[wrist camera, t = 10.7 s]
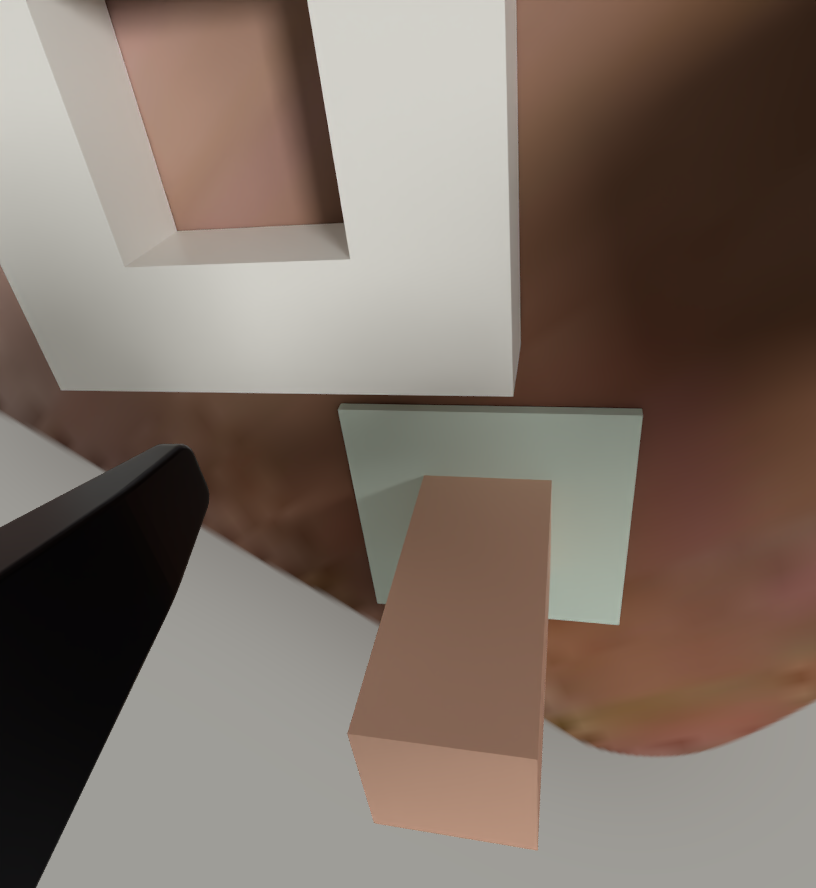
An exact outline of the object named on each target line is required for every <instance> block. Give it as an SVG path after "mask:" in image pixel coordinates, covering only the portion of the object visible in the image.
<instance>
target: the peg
mask: <svg viewBox="0 0 816 888" xmlns="http://www.w3.org/2000/svg"><path fill="white" fill-rule="evenodd" d="M551 493H552V480H531V479H506V478H480V477H455V476H429V475H424V477H423V480H422V483H421V487H420V490H419V493H418V497H417V500H416V504H415V507H414V510H413V514H412V517H411V520H410V524H409V527H408V531H407V534H406V537H405V541H404V544H403V548H402V551H401V554H400V558H399V561H398V564H397V568H396V571H395V575H394V578H393V581H392V585H391V588H390V592H389V595H388V598H387V602H386V605H385V608H384V612H383V615H382V619H381V622H380V625H379V629H378V632H377V635H376V639H375V642H374V646H373V649H372V652H371V656H370V660H369V663H368V666H367V670H366V673H365V676H364V680H363V683H362V687H361V690H360V693H359V697H358V700H357V703H356V707H355V710H354V714H353V717H352V720H351V723H350V727H349V730H348V737H349V741H350V744H351V747H352V751H353V754H354V758H355V761H356V764H357V767H358V771H359V774H360V777H361V781H362V784H363V787H364V790H365V794H366V797H367V801H368V804H369V807H370V811H371V814H372V817H373V821H374V823H376V824H382V825H389V826H394V827H400V828H406V829H412V830H418V831H424V832H431V833H436V834H442V835H449V836H454V837H460V838H466V839H472V840H478V841H484V842H490V843H496V844H502V845H508V846H514V847H520V848H526V849H532V850H538V831H539V809H540V788H541V764H542V744H543V722H544V700H545V678H546V656H547V634H548V612H549V591H550V562H551Z"/></svg>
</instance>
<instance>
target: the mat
mask: <svg viewBox="0 0 816 888" xmlns="http://www.w3.org/2000/svg"><path fill="white" fill-rule="evenodd" d="M338 413H339V418H340V423H341V428H342V433H343V438H344V443H345V447H346V452H347V457H348V462H349V467H350V472H351V477H352V482H353V486H354V491H355V496H356V501H357V506H358V511H359V516H360V521H361V526H362V530H363V535H364V540H365V545H366V550H367V555H368V560H369V565H370V569H371V574H372V579H373V584H374V589H375V594H376V599H377V603H378V604H386V602H387V598H388V595H389V592H390V588H391V585H392V581H393V578H394V575H395V571H396V568H397V564H398V561H399V558H400V554H401V551H402V548H403V544H404V541H405V537H406V534H407V531H408V527H409V524H410V520H411V517H412V514H413V510H414V507H415V504H416V500H417V497H418V493H419V490H420V487H421V483H422V480H423V477H424V475H429V476H455V477H480V478H506V479H531V480H552V493H551V562H550V591H549V612H548V619H557V620H568V621H579V622H590V623H602V624H613V625H619V621H620V612H621V603H622V594H623V586H624V577H625V568H626V559H627V550H628V542H629V533H630V524H631V515H632V507H633V498H634V489H635V480H636V471H637V463H638V454H639V445H640V436H641V428H642V419H643V413H642V409H637V408H579V407H521V406H463V405H405V404H347V403H341V404H340V406H339V408H338Z"/></svg>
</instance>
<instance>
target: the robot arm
mask: <svg viewBox="0 0 816 888" xmlns="http://www.w3.org/2000/svg"><path fill="white" fill-rule="evenodd" d="M208 504H209V490H208V487H207V484H206V482H205V479H204V477H203V474H202V472H201V470H200V467H199V465H198V462H197V460H196V458H195V455H194V453H193V451H192V450H191V449H190V448H189V447H188V446H187V445H184V444H160V445H157V446H154V447H153V448H151V449H149V450H147V451H145V452H143V453H141V454H139V455H137V456H135V457H133V458H132V459H130V460H128V461H126V462H124V463H122V464H120V465H118V466H116V467H114V468H113V469H111V470H109V471H107V472H105V473H103V474H101V475H99V476H98V477H95V478H94V479H92V480H90V481H88V482H86V483H84V484H82V485H80V486H78V487H76V488H74V489H72V490H71V491H69V492H67V493H65V494H63V495H61V496H59V497H57V498H55V499H53V500H52V501H50V502H48V503H46V504H44V505H42V506H40V507H38V508H36V509H34V510H32V511H30V512H29V513H27V514H25V515H23V516H21V517H19V518H17V519H15V520H13V521H12V522H10V523H8V524H6V525H4V526H2V527H0V888H36V886H37V884H38V882H39V880H40V878H41V876H42V874H43V872H44V870H45V868H46V866H47V864H48V862H49V859H50V857H51V855H52V853H53V851H54V849H55V847H56V845H57V843H58V841H59V839H60V836H61V834H62V832H63V830H64V828H65V826H66V824H67V822H68V820H69V818H70V816H71V814H72V812H73V810H74V807H75V805H76V803H77V801H78V799H79V797H80V795H81V793H82V791H83V788H84V787H85V784H86V782H87V780H88V778H89V776H90V774H91V772H92V770H93V768H94V766H95V763H96V762H97V759H98V757H99V755H100V753H101V751H102V749H103V747H104V745H105V743H106V741H107V739H108V736H109V734H110V732H111V730H112V728H113V726H114V724H115V722H116V720H117V718H118V716H119V714H120V711H121V709H122V707H123V705H124V703H125V701H126V699H127V697H128V695H129V692H130V691H131V689H132V686H133V684H134V682H135V680H136V678H137V676H138V674H139V672H140V670H141V668H142V666H143V663H144V661H145V659H146V657H147V655H148V653H149V651H150V649H151V647H152V645H153V643H154V640H155V639H156V636H157V634H158V632H159V630H160V628H161V626H162V624H163V622H164V620H165V618H166V615H167V613H168V611H169V609H170V607H171V605H172V603H173V600H174V598H175V595H176V593H177V591H178V588H179V585H180V583H181V580H182V578H183V575H184V572H185V569H186V566H187V564H188V560H189V558H190V555H191V552H192V549H193V547H194V544H195V541H196V538H197V535H198V533H199V530H200V527H201V524H202V522H203V519H204V516H205V513H206V510H207V508H208Z"/></svg>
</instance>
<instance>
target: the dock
mask: <svg viewBox="0 0 816 888" xmlns="http://www.w3.org/2000/svg"><path fill="white" fill-rule="evenodd" d="M307 2H308V8H309V14H310V20H311V26H312V32H313V38H314V44H315V50H316V56H317V62H318V68H319V74H320V80H321V86H322V92H323V98H324V104H325V110H326V117H327V123H328V129H329V135H330V141H331V147H332V153H333V159H334V165H335V171H336V177H337V183H338V189H339V195H340V201H341V207H342V213H343V219H344V223H332V224H311V225H291V226H270V227H250V228H229V229H209V230H188V231H177V229H176V226H175V223H174V220H173V217H172V213H171V210H170V207H169V204H168V201H167V197H166V194H165V191H164V188H163V185H162V182H161V178H160V175H159V172H158V169H157V166H156V162H155V159H154V156H153V153H152V150H151V146H150V143H149V140H148V137H147V134H146V131H145V127H144V124H143V121H142V118H141V115H140V111H139V108H138V105H137V102H136V99H135V95H134V92H133V89H132V86H131V83H130V80H129V76H128V73H127V70H126V67H125V64H124V60H123V57H122V54H121V51H120V48H119V45H118V41H117V38H116V35H115V32H114V29H113V25H112V22H111V19H110V16H109V13H108V9H107V6H106V3H105V0H0V265H1V267H2V269H3V271H4V273H5V275H6V277H7V279H8V282H9V284H10V286H11V288H12V290H13V292H14V294H15V296H16V298H17V300H18V302H19V304H20V306H21V308H22V311H23V313H24V315H25V317H26V319H27V321H28V323H29V325H30V327H31V329H32V331H33V333H34V335H35V337H36V339H37V342H38V344H39V346H40V348H41V350H42V352H43V354H44V356H45V358H46V360H47V362H48V364H49V366H50V368H51V371H52V373H53V375H54V377H55V379H56V381H57V383H58V385H59V387H60V389H61V390H74V391H146V392H218V393H290V394H362V395H434V396H506V397H513V395H514V388H515V381H516V374H517V368H518V361H519V354H520V347H521V322H520V246H519V170H518V94H517V17H516V0H307Z"/></svg>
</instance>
